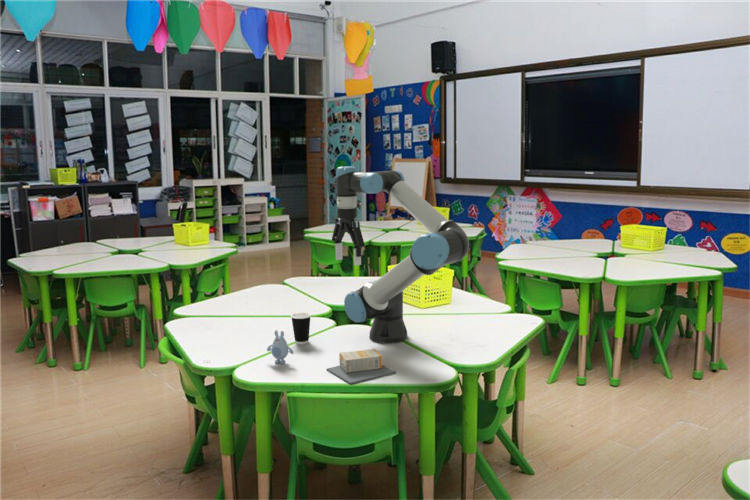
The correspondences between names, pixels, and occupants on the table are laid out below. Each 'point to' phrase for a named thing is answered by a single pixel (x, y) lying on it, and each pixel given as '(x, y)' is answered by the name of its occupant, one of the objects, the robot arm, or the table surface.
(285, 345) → the toy figure
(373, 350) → the supplement box
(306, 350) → the table surface
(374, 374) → the mat
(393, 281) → the robot arm
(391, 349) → the table surface
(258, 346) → the table surface
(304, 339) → the dixie cup
